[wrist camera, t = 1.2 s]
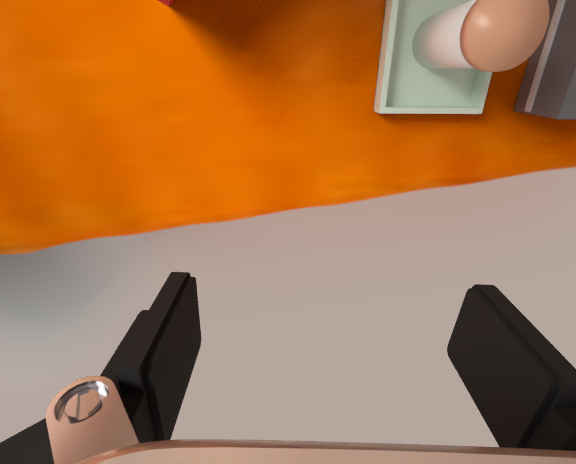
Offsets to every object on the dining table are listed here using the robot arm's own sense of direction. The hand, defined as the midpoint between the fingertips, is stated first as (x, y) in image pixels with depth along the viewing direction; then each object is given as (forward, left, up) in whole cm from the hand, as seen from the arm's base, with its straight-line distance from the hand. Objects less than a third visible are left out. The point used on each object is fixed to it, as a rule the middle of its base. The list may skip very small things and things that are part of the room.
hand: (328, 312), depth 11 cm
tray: (-10, +11, -23) cm, 27 cm away
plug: (-10, +11, -23) cm, 27 cm away
